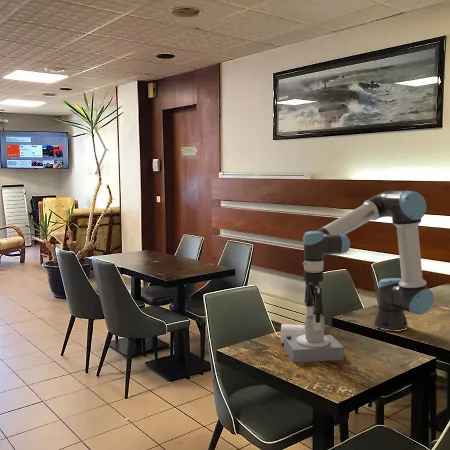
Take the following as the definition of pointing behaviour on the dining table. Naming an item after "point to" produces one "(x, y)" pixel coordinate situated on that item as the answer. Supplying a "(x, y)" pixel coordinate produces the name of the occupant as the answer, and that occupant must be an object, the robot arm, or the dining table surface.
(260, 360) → the dining table surface
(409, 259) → the robot arm
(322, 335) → the cup
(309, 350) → the square base with disc
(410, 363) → the dining table surface
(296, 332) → the white rounded block
